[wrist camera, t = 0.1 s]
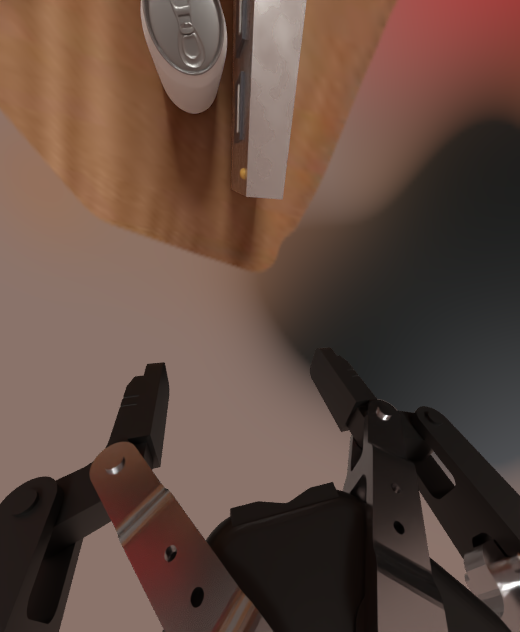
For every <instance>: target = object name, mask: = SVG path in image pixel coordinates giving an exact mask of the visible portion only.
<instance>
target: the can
mask: <svg viewBox="0 0 520 632" xmlns="http://www.w3.org/2000/svg"><path fill="white" fill-rule="evenodd" d="M141 21H142V27H143V32H144V36H145V39H146V42H147V45H148V48H149V51H150V54H151V56H152V59H153V62H154V64H155V67H156V69H157V72H158V75H159V77H160V80H161V82H162V85H163V87H164V89H165V91H166V93H167V95H168V96H169V98H170V99H171V100H172V101H173V103H174V104H175V105H176V106H178V107H179V108H180V109H182V110H183V111H185V112H188V113H191V114H197V113H201V112H203V111H205V110H207V109H208V108H209V107H210V106H211V105H212V103H213V101H214V99H215V97H216V94H217V90H218V87H219V83H220V79H221V75H222V71H223V67H224V63H225V58H226V52H227V30H226V23H225V18H224V14H223V11H222V7H221V4H220V0H141Z"/></svg>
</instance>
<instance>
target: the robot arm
mask: <svg viewBox="0 0 520 632" xmlns="http://www.w3.org/2000/svg"><path fill="white" fill-rule="evenodd" d="M310 374H311V378H312V380H313V382H314V383H315V385H316V387H317V389H318V391H319V393H320V394H321V396H322V398H323V400H324V402H325V403H326V405H327V407H328V409H329V411H330V412H331V414H332V416H333V418H334V419H335V422H336V423H337V425H338V427H339V429H340V431H341V432H343V431H348V430H350V432H351V434H352V435H351V437H350V447H349V458H348V469H347V477H346V480H345V484H344V487H343V491H339V490H336V488H335V486H334V484H333V482H331V483H327V484H323V485H320V486H315V487H311V488H309V489H307V490H306V491H305V492H303V493H302V494H300V495H299V496H297V497H296V498H295V499H293V500H291V501H290V502H288V503H273V502H254V503H250V504H246V505H242V506H238V507H235V508H231V509H230V517H229V518H227V519H225V520H224V521H223V522H222V523H220V524H219V525H218V526H217V527H216V528H215V529H214V530H213V532H212V533H211V534H210V535H209V537H208V538H207V540H205V539H204V538H203V536H202V535H201V534H200V532H199V531H198V529H197V528H196V527H195V525H194V524H193V522H192V521H191V520H190V518H189V517H188V515H187V514H186V513H185V511H184V510H183V508H182V507H181V506H180V504H179V503H178V501H177V500H176V499H175V497H174V496H173V495H172V493H171V492H170V491H169V490H168V489H166V488H165V487H164V486H163V485H162V484H161V483H160V481H159V479H158V478H157V477H156V475H155V474H154V472H153V471H152V469H153V468H158V467H160V465H161V457H162V449H163V440H164V433H165V424H166V417H167V409H168V401H169V382H168V377H167V372H166V366H165V363H153V364H147V366H146V369H145V373H144V376H137V377H134V378H133V379H132V381H131V382H130V383H129V384H128V385H127V387H126V390H125V393H124V398H123V399H122V402H121V407H120V409H119V412H118V415H117V418H116V421H115V424H114V427H113V430H112V433H111V437H110V439H109V442H108V445H107V446H106V448H105V449H104V450H103V451H102V452H101V453H100V454H99V455H98V456H97V457H96V458H95V460H94V461H93V462H92V463H90V464H89V465H87V466H86V467H84V468H82V469H80V470H77V471H75V472H73V473H71V474H69V475H67V476H65V477H62V478H60V479H58V480H56V481H55V480H54V479H52V478H51V477H38V478H35V479H32V480H30V481H27V482H26V483H24V484H22V485H21V486H19V487H18V488H16V489H15V490H14V491H12V492H11V493H10V494H9V495H8V496H7V497H6V498H5V499H4V500H3V501H2V503H1V504H0V632H59V629H60V625H61V621H62V618H63V614H64V610H65V606H66V602H67V598H68V595H69V590H70V587H71V583H72V579H73V575H74V571H75V568H76V564H77V560H78V556H79V552H80V549H81V545H82V541H83V538H84V537H85V536H87V535H89V534H90V533H92V532H94V531H96V530H97V529H99V528H101V527H102V526H104V525H105V524H107V523H109V522H110V521H112V523H113V525H114V527H115V529H116V531H117V534H118V538H119V540H120V543H121V545H122V547H123V549H124V551H125V553H126V555H127V557H128V559H129V561H130V563H131V565H132V567H133V569H134V571H135V573H136V575H137V577H138V579H139V581H140V583H141V585H142V587H143V589H144V591H145V593H146V595H147V597H148V599H149V601H150V603H151V605H152V607H153V609H154V611H155V613H156V615H157V617H158V619H159V621H160V623H161V625H162V627H163V629H164V630H163V632H520V496H519V494H518V493H516V491H515V490H514V489H513V488H512V487H511V486H510V485H509V484H508V483H507V482H506V481H505V480H504V479H503V477H501V476H500V474H499V473H498V472H497V471H496V470H495V469H494V468H493V467H492V466H491V465H490V464H489V463H488V462H487V461H486V460H485V459H484V457H483V456H482V455H481V454H480V453H479V452H478V451H477V450H476V449H475V448H474V447H473V446H472V445H471V444H470V443H469V442H468V440H466V438H465V437H464V436H463V435H462V434H461V433H460V432H459V431H458V430H457V429H456V428H455V427H454V426H453V425H452V424H451V423H450V422H449V420H448V419H447V418H446V417H445V416H444V415H442V414H441V413H440V412H438V411H436V410H435V409H432V408H429V407H425V406H422V407H419V408H418V409H417V410H416V411H415V413H411V412H403V411H398V410H396V409H395V408H394V407H393V406H392V405H391V404H389V403H387V402H386V401H383V400H379V399H377V398H376V397H375V396H374V394H373V393H372V392H371V390H370V389H369V388H368V387H367V385H366V384H365V383H364V382H363V380H362V379H361V378H360V377H359V376H358V374H357V373H356V371H355V370H353V368H352V366H351V365H350V364H349V363H348V361H346V360H345V359H344V358H342V357H341V356H337V355H336V354H335V353H334V351H333V350H332V349H331V348H329V347H328V348H317V349H316V350H315V353H314V356H313V360H312V364H311V367H310ZM433 451H434V452H435V453H436V455H437V456H438V457H439V459H440V460H441V461H442V462H443V464H444V465H445V466H446V467H447V469H448V470H449V471H450V472H451V474H452V475H453V477H454V479H455V483H456V485H455V486H454V484H453V483H452V482H451V481H450V479H449V478H448V477H447V476H446V474H445V473H444V471H443V470H442V469H441V467H440V466H439V465H438V464H437V462H436V461H435V460H434V458H433V457H432V456H431V453H432V452H433ZM419 491H420V493H421V494H422V495H423V497H424V499H425V500H426V502H427V503H428V505H429V506H430V508H431V510H432V511H433V513H434V514H435V516H436V517H437V519H438V520H439V522H440V524H441V525H442V527H443V528H444V530H445V531H446V533H447V534H448V536H449V537H450V539H451V540H452V542H453V544H454V545H455V547H456V548H457V550H458V551H459V553H460V554H461V556H462V558H463V559H464V565H465V570H466V574H465V581H466V584H467V586H468V587H469V589H470V590H471V591H472V592H471V591H469V590H468V589H467V588H466V587H465V586H464V585H462V584H461V583H460V582H459V581H458V580H456V579H455V578H454V577H453V576H452V575H450V574H449V573H448V572H447V571H445V570H444V569H443V568H442V567H441V566H440V565H438V564H437V563H436V562H435V561H434V560H432V559H431V558H430V557H429V552H428V546H427V539H426V533H425V526H424V520H423V514H422V507H421V500H420V494H419ZM474 594H475V595H476V596H475V595H474Z"/></svg>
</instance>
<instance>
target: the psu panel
mask: <svg viewBox="0 0 520 632" xmlns="http://www.w3.org/2000/svg"><path fill="white" fill-rule="evenodd" d="M305 8H306V0H233V78H232V166H231V190H233V191H235V192H237V193H240V194H242V195H244V196H246V197H257V198H271V199H283V192H284V184H285V175H286V167H287V159H288V150H289V142H290V134H291V125H292V117H293V108H294V100H295V92H296V83H297V75H298V67H299V58H300V50H301V42H302V33H303V25H304V17H305Z"/></svg>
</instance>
